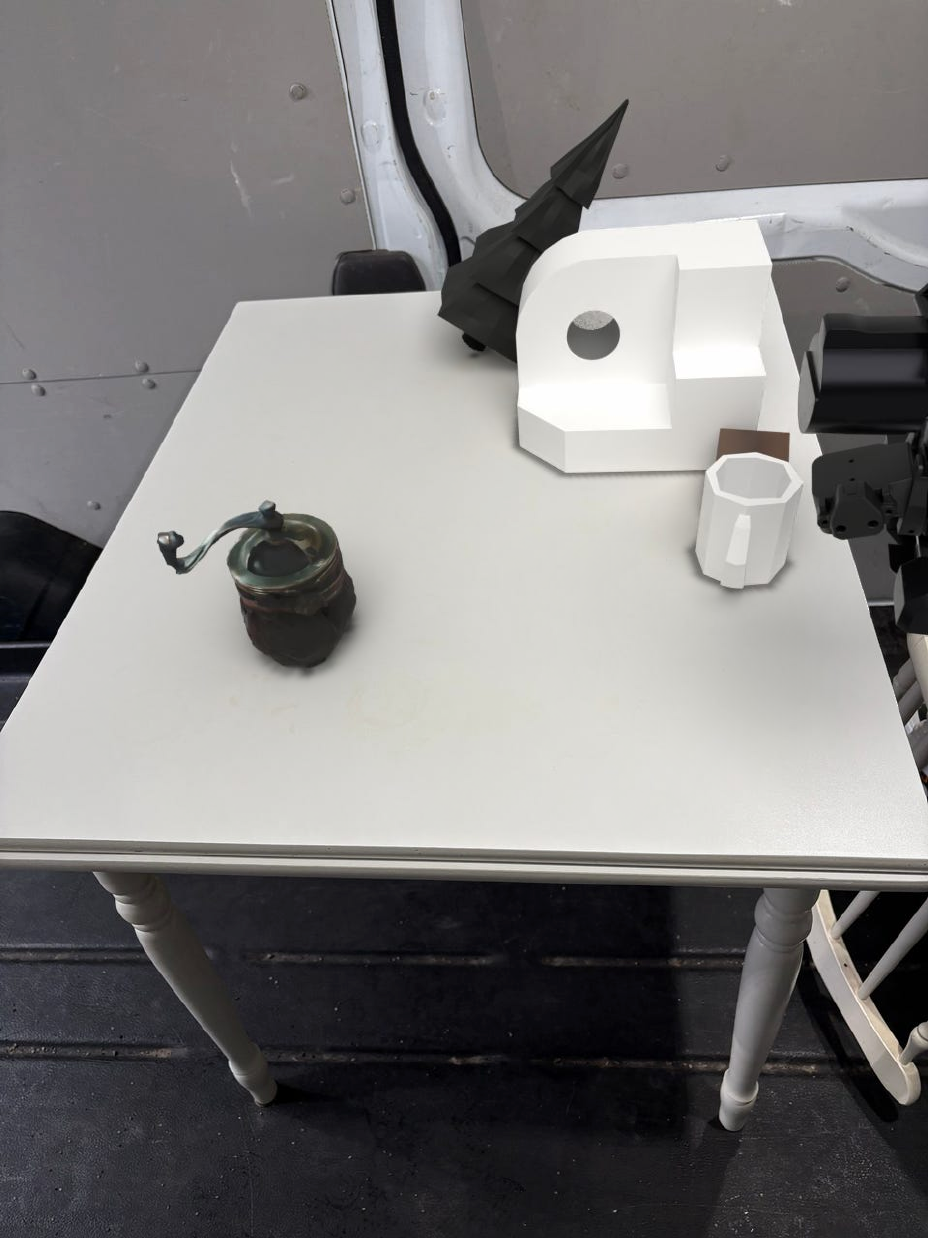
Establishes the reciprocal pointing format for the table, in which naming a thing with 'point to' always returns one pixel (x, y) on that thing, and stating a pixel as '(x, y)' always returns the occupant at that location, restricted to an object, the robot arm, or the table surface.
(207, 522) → the table surface
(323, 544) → the coffee grinder
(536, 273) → the stepped bracket block
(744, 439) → the walnut block
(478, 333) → the decorative tree
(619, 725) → the table surface
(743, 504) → the mug
